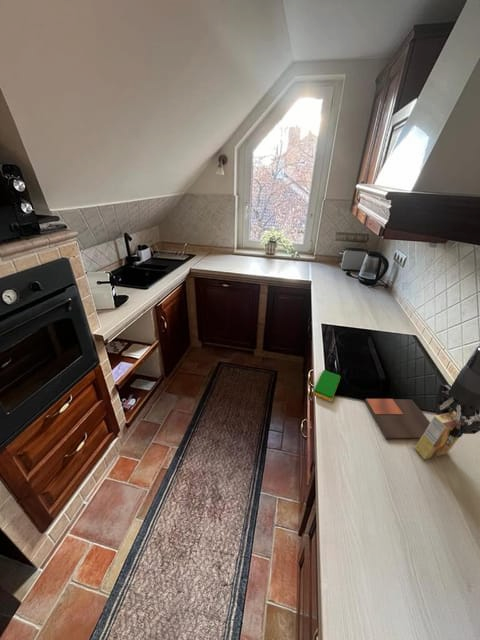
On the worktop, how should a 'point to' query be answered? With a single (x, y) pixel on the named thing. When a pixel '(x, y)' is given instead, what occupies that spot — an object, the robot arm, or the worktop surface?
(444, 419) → the candy box
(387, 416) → the board
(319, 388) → the dish sponge
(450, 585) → the worktop surface
